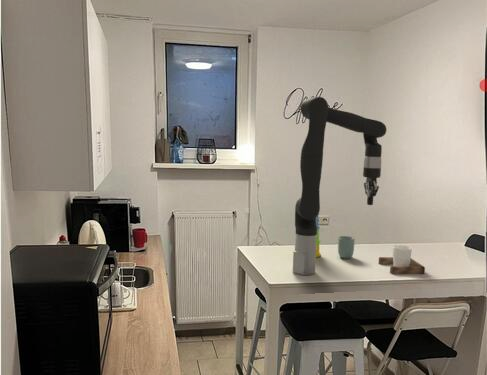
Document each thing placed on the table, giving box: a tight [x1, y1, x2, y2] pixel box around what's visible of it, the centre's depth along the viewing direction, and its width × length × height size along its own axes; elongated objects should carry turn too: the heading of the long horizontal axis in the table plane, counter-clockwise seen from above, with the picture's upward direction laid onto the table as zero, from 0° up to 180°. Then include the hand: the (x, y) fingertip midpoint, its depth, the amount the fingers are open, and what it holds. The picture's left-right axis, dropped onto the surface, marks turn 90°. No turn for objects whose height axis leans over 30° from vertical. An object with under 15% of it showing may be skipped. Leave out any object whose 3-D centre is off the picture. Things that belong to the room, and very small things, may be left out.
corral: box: [378, 256, 426, 275], centre depth 194 cm, size 15×15×3 cm
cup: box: [337, 235, 356, 260], centre depth 208 cm, size 8×8×10 cm
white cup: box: [392, 244, 413, 266], centre depth 193 cm, size 8×8×10 cm
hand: (369, 204), depth 192 cm, fingers closed
